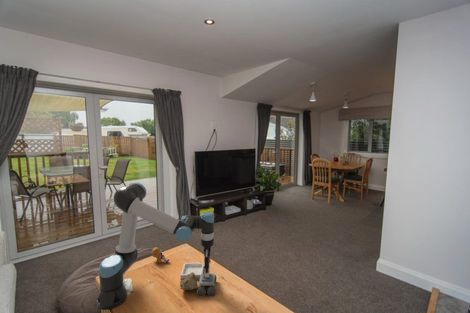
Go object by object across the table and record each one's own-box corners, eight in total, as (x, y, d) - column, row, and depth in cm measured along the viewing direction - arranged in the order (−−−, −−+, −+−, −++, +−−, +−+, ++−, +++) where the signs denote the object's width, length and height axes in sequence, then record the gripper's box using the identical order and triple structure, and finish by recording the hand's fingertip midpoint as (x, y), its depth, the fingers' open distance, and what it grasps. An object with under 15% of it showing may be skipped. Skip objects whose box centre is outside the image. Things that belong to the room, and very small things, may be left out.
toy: (171, 255, 160) (157, 241, 164) (162, 263, 155) (148, 248, 159) (168, 263, 169) (155, 249, 173) (160, 270, 164) (147, 256, 168)
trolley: (196, 296, 130) (196, 284, 129) (199, 281, 144) (199, 269, 143) (215, 296, 130) (215, 284, 130) (216, 281, 144) (216, 269, 144)
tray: (180, 279, 145) (180, 275, 145) (184, 266, 159) (184, 262, 159) (202, 279, 146) (202, 274, 145) (203, 266, 160) (204, 262, 159)
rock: (196, 295, 133) (198, 283, 130) (178, 296, 131) (180, 283, 127) (196, 278, 144) (198, 266, 141) (179, 279, 142) (181, 266, 138)
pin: (203, 279, 134) (203, 260, 133) (204, 275, 138) (204, 257, 137) (209, 279, 135) (210, 260, 133) (210, 275, 138) (210, 257, 137)
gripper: (213, 244, 126) (212, 283, 129) (214, 232, 142) (213, 267, 144) (199, 244, 126) (199, 283, 128) (202, 232, 142) (202, 267, 144)
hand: (207, 275), depth 136 cm, fingers closed on pin, 3 cm apart
